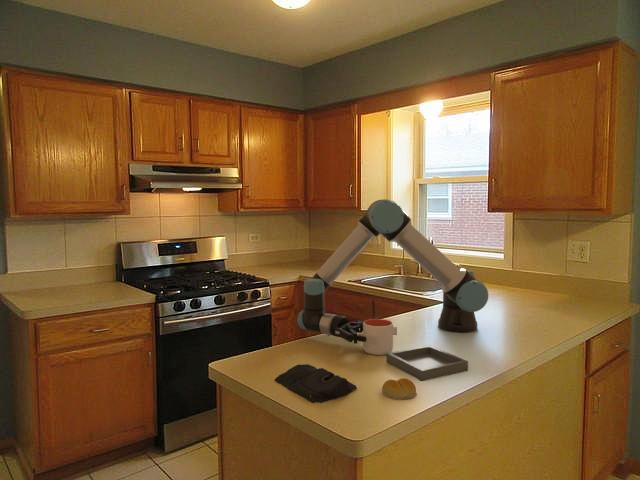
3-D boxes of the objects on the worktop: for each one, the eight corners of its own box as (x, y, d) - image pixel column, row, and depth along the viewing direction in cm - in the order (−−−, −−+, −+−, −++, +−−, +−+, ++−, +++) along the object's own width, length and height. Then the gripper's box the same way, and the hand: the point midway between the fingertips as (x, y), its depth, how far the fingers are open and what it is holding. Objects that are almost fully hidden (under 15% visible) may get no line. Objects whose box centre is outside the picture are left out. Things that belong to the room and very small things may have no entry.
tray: (429, 353, 158) (429, 345, 158) (467, 370, 143) (468, 361, 142) (386, 362, 150) (386, 353, 150) (421, 381, 135) (422, 370, 135)
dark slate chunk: (312, 369, 146) (312, 354, 145) (361, 392, 128) (361, 375, 128) (270, 381, 136) (270, 365, 136) (316, 407, 119) (316, 389, 119)
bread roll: (378, 389, 130) (378, 375, 129) (410, 387, 131) (410, 373, 131) (386, 402, 122) (386, 387, 121) (420, 400, 123) (420, 385, 122)
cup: (398, 354, 158) (398, 324, 157) (371, 358, 155) (371, 327, 154) (383, 345, 168) (383, 317, 167) (358, 348, 164) (358, 320, 163)
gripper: (354, 328, 182) (404, 337, 169) (313, 344, 162) (366, 356, 149) (354, 308, 181) (404, 317, 168) (313, 322, 161) (366, 333, 148)
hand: (386, 335), depth 159 cm, fingers open, 13 cm apart
